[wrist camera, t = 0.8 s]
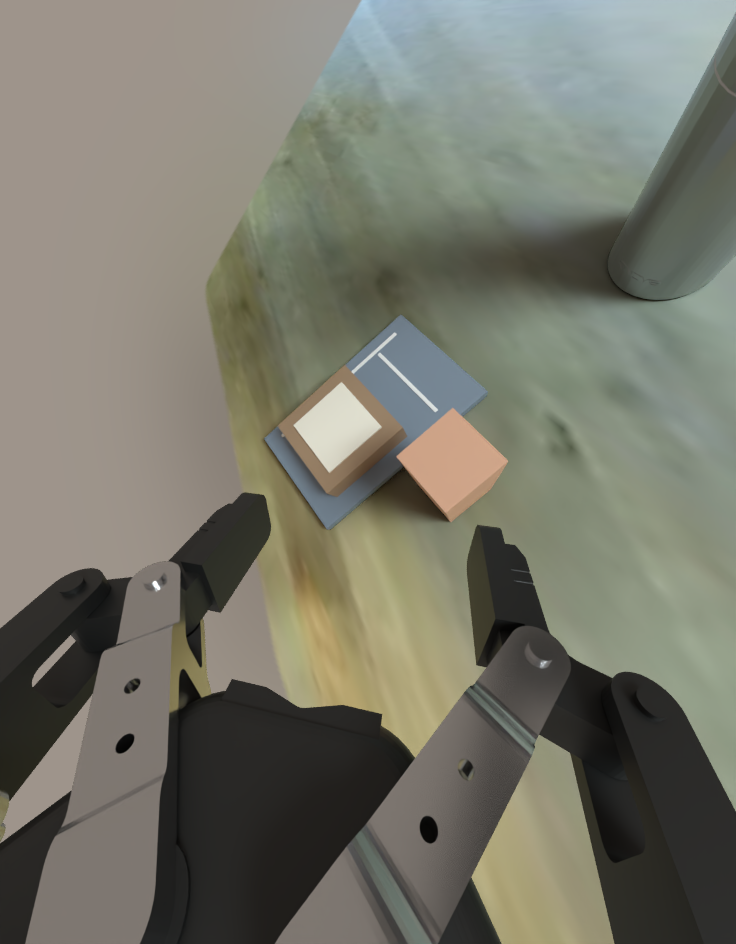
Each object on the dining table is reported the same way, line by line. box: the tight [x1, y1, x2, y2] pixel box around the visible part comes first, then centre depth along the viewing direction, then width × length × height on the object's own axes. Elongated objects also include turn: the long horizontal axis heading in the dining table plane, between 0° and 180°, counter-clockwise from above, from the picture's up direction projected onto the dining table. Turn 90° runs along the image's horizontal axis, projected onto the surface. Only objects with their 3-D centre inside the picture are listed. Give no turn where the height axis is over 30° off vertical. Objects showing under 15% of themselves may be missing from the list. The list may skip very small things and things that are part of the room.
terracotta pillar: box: [396, 408, 508, 522], centre depth 26 cm, size 5×5×12 cm
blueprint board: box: [264, 315, 488, 530], centre depth 34 cm, size 22×14×4 cm, turn 127°
